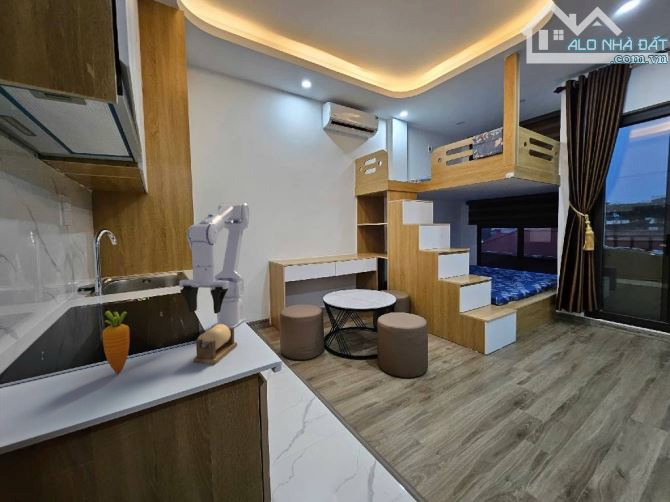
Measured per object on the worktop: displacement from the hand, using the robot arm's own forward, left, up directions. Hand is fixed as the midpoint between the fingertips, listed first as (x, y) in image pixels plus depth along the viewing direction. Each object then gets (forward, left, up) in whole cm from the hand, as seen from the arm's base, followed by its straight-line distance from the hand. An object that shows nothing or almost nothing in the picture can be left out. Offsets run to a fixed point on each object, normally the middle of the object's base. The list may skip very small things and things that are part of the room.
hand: (205, 311), depth 83 cm
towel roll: (+6, +7, -5) cm, 10 cm away
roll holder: (+6, +7, -9) cm, 13 cm away
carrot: (+19, -10, -10) cm, 24 cm away
